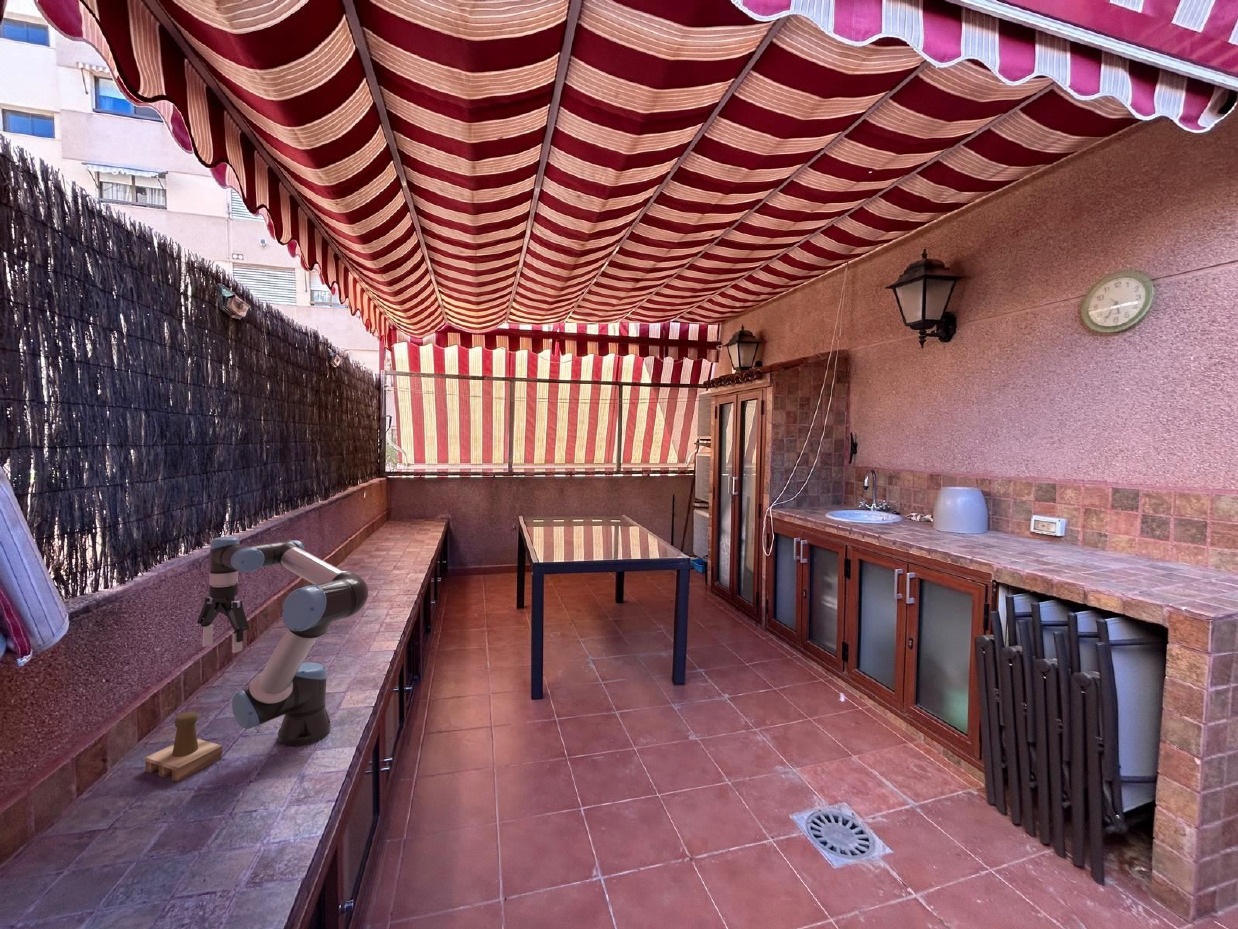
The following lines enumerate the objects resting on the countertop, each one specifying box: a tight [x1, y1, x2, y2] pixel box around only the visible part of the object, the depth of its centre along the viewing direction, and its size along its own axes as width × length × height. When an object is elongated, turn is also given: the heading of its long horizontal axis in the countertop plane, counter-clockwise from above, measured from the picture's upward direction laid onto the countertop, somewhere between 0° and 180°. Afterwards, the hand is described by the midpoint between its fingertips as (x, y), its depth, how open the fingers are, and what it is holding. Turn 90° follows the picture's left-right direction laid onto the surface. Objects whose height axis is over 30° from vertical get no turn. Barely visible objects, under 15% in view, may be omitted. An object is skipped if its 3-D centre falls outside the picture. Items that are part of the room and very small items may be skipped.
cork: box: [172, 711, 198, 757], centre depth 153 cm, size 6×6×11 cm
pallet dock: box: [144, 738, 223, 782], centre depth 153 cm, size 14×12×4 cm
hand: (222, 648), depth 169 cm, fingers open, 13 cm apart
